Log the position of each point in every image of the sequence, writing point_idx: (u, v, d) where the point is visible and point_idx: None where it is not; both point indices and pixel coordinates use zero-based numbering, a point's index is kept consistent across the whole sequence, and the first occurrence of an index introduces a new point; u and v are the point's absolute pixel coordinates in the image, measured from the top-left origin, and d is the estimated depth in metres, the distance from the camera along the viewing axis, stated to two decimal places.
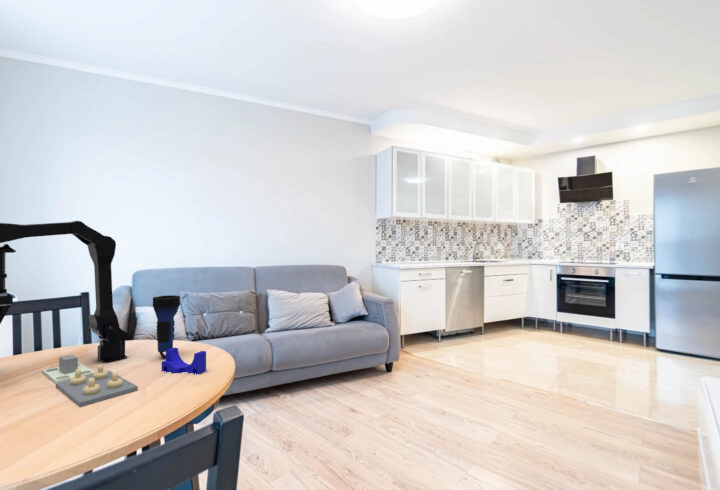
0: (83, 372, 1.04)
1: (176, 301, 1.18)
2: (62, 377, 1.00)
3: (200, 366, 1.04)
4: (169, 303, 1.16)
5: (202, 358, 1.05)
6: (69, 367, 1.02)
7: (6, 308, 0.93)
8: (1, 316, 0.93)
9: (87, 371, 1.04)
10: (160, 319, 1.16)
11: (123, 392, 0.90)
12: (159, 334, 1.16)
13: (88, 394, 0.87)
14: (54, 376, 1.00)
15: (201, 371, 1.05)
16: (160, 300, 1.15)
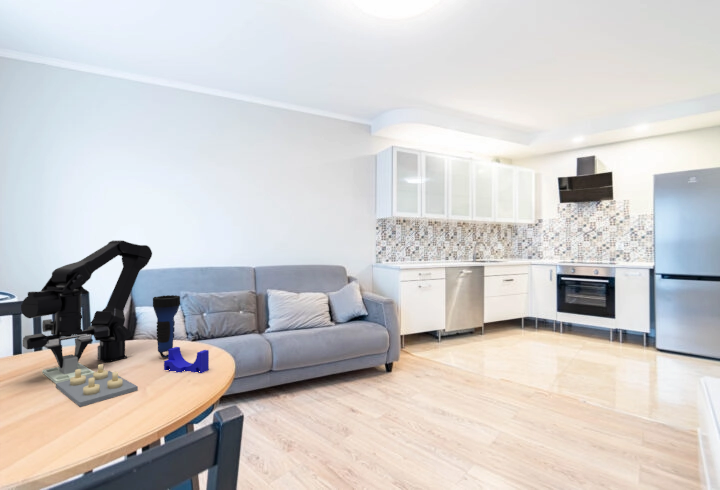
0: (83, 372, 1.04)
1: (176, 301, 1.18)
2: (62, 377, 1.00)
3: (203, 365, 1.05)
4: (169, 303, 1.16)
5: (204, 357, 1.06)
6: (69, 367, 1.02)
7: None
8: (56, 355, 1.01)
9: (87, 371, 1.04)
10: (160, 319, 1.16)
11: (123, 392, 0.90)
12: (159, 334, 1.16)
13: (88, 394, 0.87)
14: (54, 376, 1.00)
15: (204, 370, 1.06)
16: (160, 300, 1.15)
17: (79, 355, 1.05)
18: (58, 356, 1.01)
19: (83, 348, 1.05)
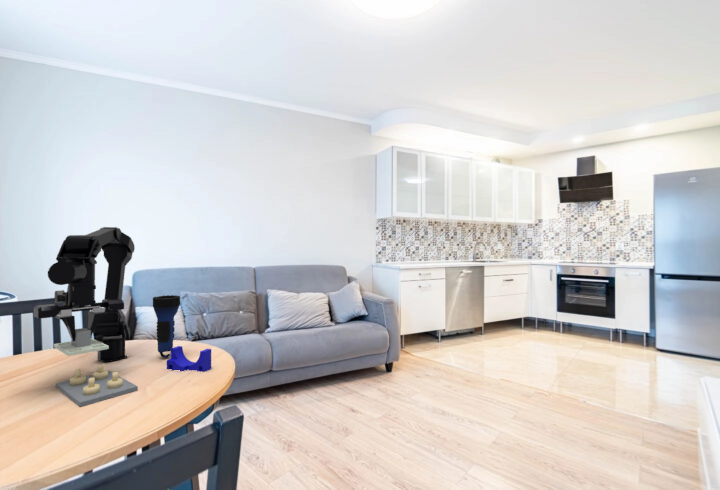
0: (96, 346, 0.98)
1: (176, 301, 1.18)
2: (74, 350, 0.94)
3: (206, 364, 1.07)
4: (169, 303, 1.16)
5: (207, 356, 1.07)
6: (82, 340, 0.96)
7: None
8: (68, 327, 0.95)
9: (100, 345, 0.98)
10: (160, 319, 1.16)
11: (123, 392, 0.90)
12: (159, 334, 1.16)
13: (88, 394, 0.87)
14: (66, 349, 0.94)
15: (207, 368, 1.07)
16: (160, 300, 1.15)
17: (92, 328, 0.99)
18: (70, 328, 0.95)
19: (97, 321, 0.99)
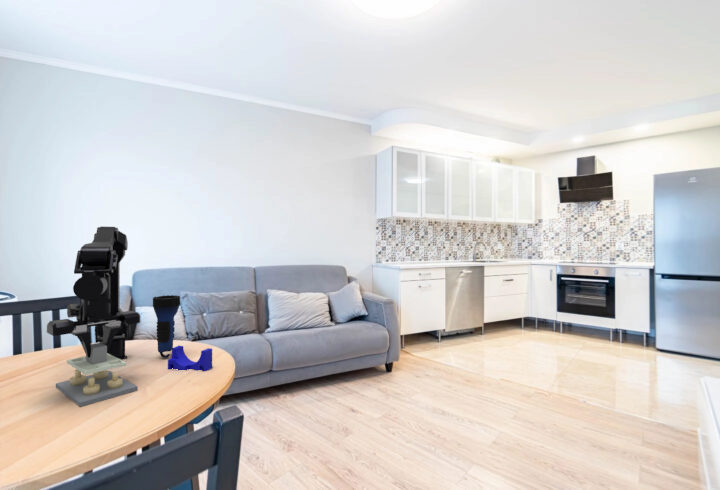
0: (113, 362, 0.93)
1: (176, 301, 1.18)
2: (91, 367, 0.89)
3: (207, 363, 1.07)
4: (169, 303, 1.16)
5: (208, 356, 1.08)
6: (98, 356, 0.91)
7: None
8: (84, 343, 0.90)
9: (117, 361, 0.94)
10: (160, 319, 1.16)
11: (123, 392, 0.90)
12: (159, 334, 1.16)
13: (88, 394, 0.87)
14: (82, 366, 0.89)
15: (208, 368, 1.07)
16: (160, 300, 1.15)
17: (108, 343, 0.94)
18: (86, 344, 0.90)
19: (112, 336, 0.94)
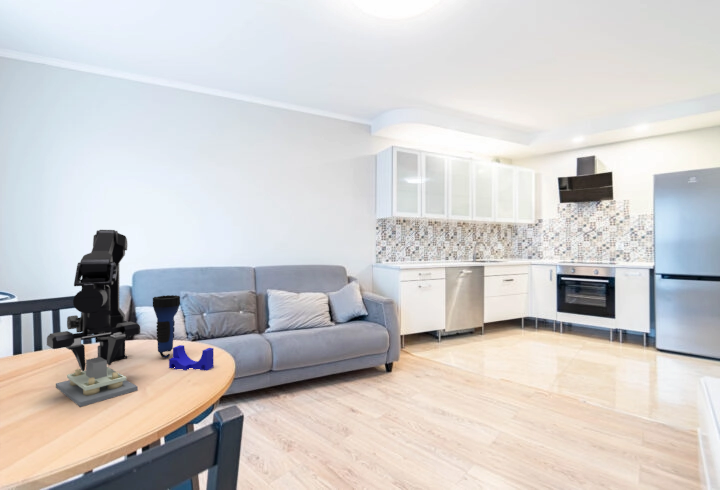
0: None
1: (176, 301, 1.18)
2: None
3: (208, 362, 1.08)
4: (169, 303, 1.16)
5: (209, 355, 1.08)
6: (98, 371, 0.91)
7: None
8: (78, 357, 0.89)
9: None
10: (160, 319, 1.16)
11: (123, 392, 0.90)
12: (159, 334, 1.16)
13: (88, 394, 0.87)
14: (82, 382, 0.89)
15: (209, 367, 1.08)
16: (160, 300, 1.15)
17: (113, 354, 0.95)
18: (80, 358, 0.89)
19: (118, 346, 0.95)
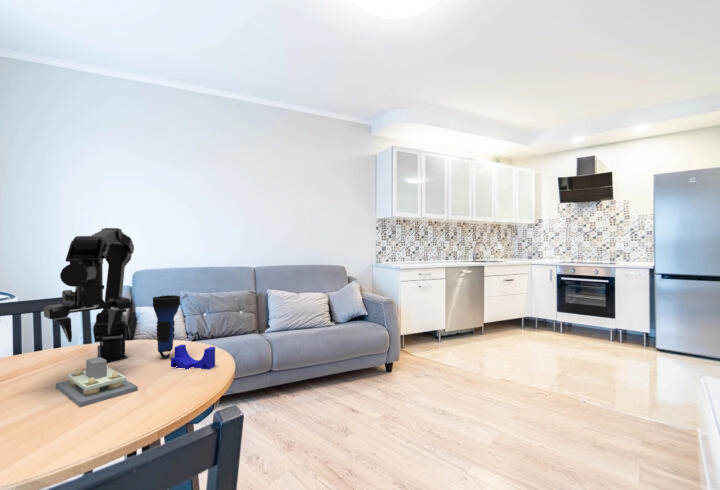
0: None
1: (176, 301, 1.18)
2: None
3: (210, 361, 1.09)
4: (169, 303, 1.16)
5: (211, 354, 1.09)
6: (98, 371, 0.91)
7: None
8: (65, 329, 0.94)
9: None
10: (160, 319, 1.16)
11: (123, 392, 0.90)
12: (159, 334, 1.16)
13: (88, 394, 0.87)
14: (82, 382, 0.89)
15: (211, 366, 1.09)
16: (160, 300, 1.15)
17: (113, 325, 1.03)
18: (67, 329, 0.94)
19: (117, 318, 1.03)
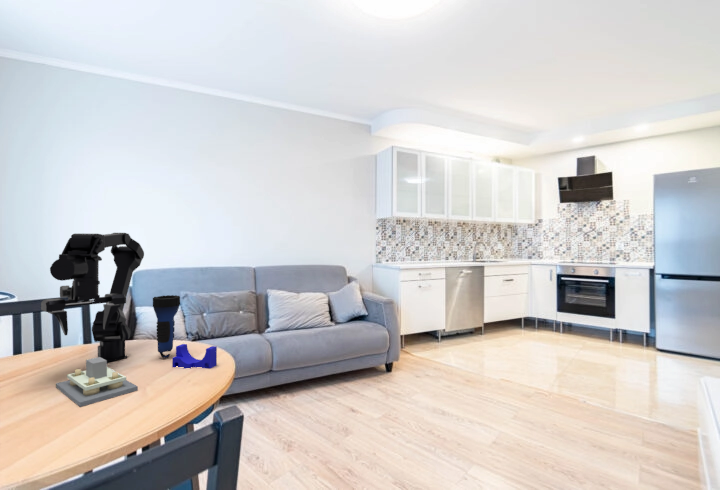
0: None
1: (176, 301, 1.18)
2: None
3: (212, 360, 1.09)
4: (169, 303, 1.16)
5: (213, 353, 1.10)
6: (98, 371, 0.91)
7: None
8: (61, 322, 0.98)
9: None
10: (160, 319, 1.16)
11: (123, 392, 0.90)
12: (159, 334, 1.16)
13: (88, 394, 0.87)
14: (82, 382, 0.89)
15: (212, 365, 1.10)
16: (160, 300, 1.15)
17: (108, 319, 1.07)
18: (63, 322, 0.98)
19: (112, 313, 1.07)
